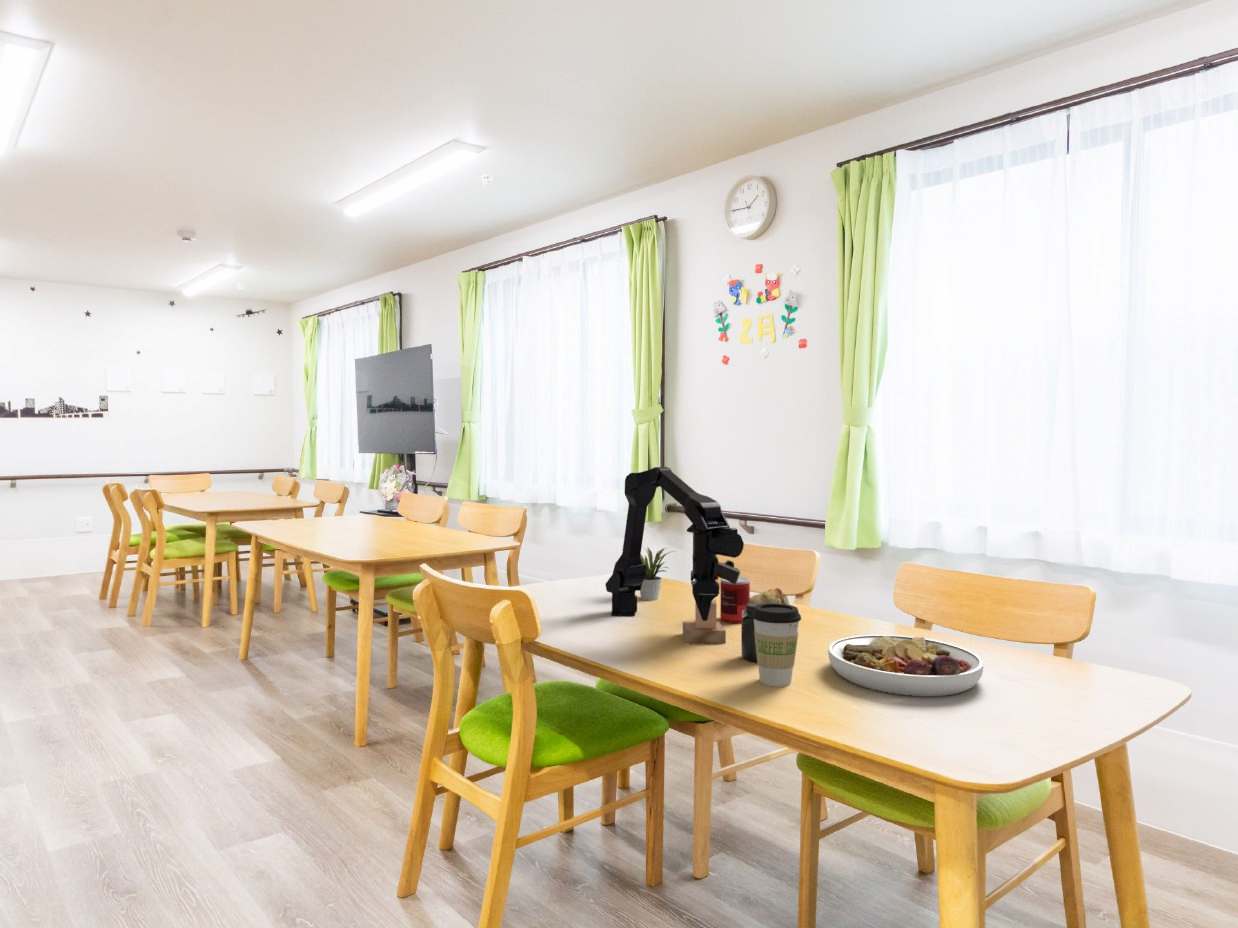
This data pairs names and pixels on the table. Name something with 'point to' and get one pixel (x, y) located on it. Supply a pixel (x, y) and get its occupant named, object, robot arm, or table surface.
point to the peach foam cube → (711, 617)
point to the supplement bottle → (748, 634)
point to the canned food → (734, 600)
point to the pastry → (770, 597)
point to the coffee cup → (776, 642)
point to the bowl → (905, 664)
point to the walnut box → (703, 634)
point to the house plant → (652, 576)
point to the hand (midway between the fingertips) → (704, 615)
